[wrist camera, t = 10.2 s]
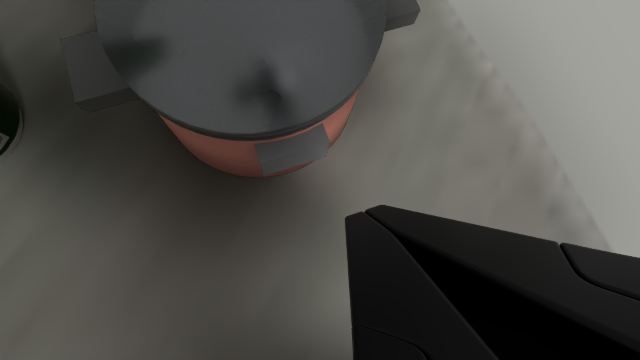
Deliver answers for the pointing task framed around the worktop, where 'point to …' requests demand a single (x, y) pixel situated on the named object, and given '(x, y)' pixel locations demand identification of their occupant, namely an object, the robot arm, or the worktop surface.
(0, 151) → the beer can
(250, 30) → the cooker lid
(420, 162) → the worktop surface
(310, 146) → the cooker pot
